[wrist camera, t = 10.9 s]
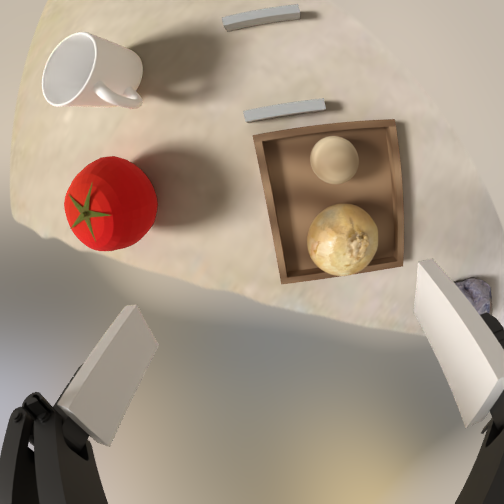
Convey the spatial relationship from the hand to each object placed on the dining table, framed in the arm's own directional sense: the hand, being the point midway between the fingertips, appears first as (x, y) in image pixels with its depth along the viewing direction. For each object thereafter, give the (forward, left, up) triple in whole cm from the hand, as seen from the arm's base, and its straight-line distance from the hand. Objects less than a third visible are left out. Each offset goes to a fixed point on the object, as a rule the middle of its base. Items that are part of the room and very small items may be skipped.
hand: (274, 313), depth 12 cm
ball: (-4, +6, -21) cm, 22 cm away
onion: (+5, +6, -21) cm, 22 cm away
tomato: (-5, -18, -22) cm, 29 cm away
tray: (+1, +6, -21) cm, 22 cm away
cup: (-19, -16, -22) cm, 33 cm away
